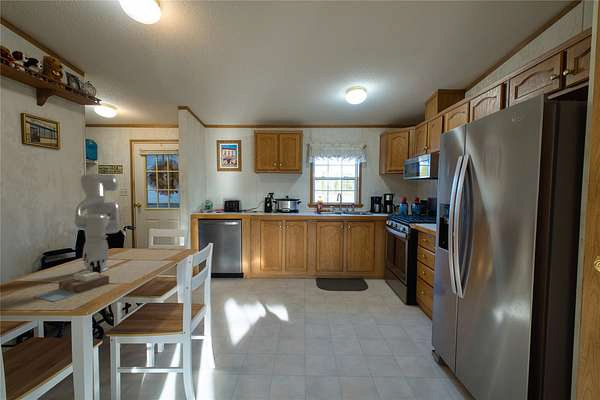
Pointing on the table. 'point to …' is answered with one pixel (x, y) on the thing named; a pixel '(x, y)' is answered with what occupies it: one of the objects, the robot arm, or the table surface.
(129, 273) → the table surface
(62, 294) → the mat
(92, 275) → the white rectangular block
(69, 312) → the table surface
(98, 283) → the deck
